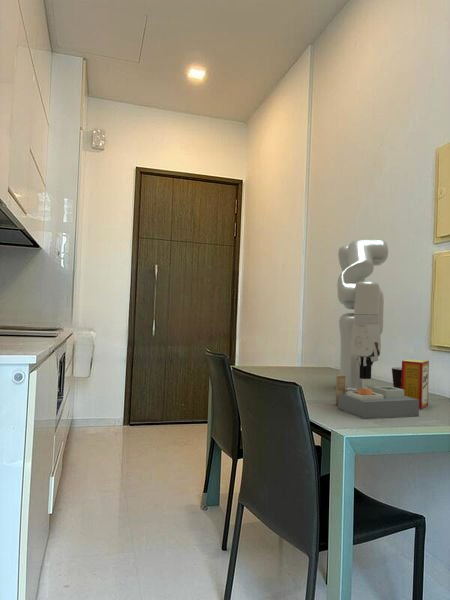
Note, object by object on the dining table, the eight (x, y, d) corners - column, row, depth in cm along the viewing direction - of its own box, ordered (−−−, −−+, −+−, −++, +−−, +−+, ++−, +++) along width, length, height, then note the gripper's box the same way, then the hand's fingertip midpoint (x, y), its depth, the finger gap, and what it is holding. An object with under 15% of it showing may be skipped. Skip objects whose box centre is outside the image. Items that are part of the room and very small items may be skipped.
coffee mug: (389, 394, 176) (390, 368, 176) (392, 391, 184) (393, 366, 184) (421, 397, 171) (422, 371, 171) (423, 394, 178) (423, 369, 179)
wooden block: (334, 404, 154) (334, 375, 154) (341, 403, 155) (342, 374, 155) (338, 406, 151) (339, 376, 151) (346, 405, 152) (347, 376, 152)
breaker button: (354, 400, 143) (354, 388, 143) (366, 400, 144) (366, 387, 145) (362, 403, 139) (363, 390, 139) (374, 402, 140) (375, 390, 140)
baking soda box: (408, 402, 161) (409, 357, 161) (427, 405, 157) (428, 359, 157) (400, 406, 153) (401, 359, 154) (421, 409, 149) (422, 361, 150)
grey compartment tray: (338, 408, 147) (338, 385, 147) (388, 406, 153) (389, 384, 153) (364, 418, 133) (365, 393, 134) (418, 415, 140) (419, 391, 140)
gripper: (342, 320, 148) (341, 375, 147) (371, 320, 134) (370, 382, 133) (362, 320, 150) (361, 375, 150) (392, 321, 136) (390, 381, 135)
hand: (365, 378), depth 141 cm, fingers closed
